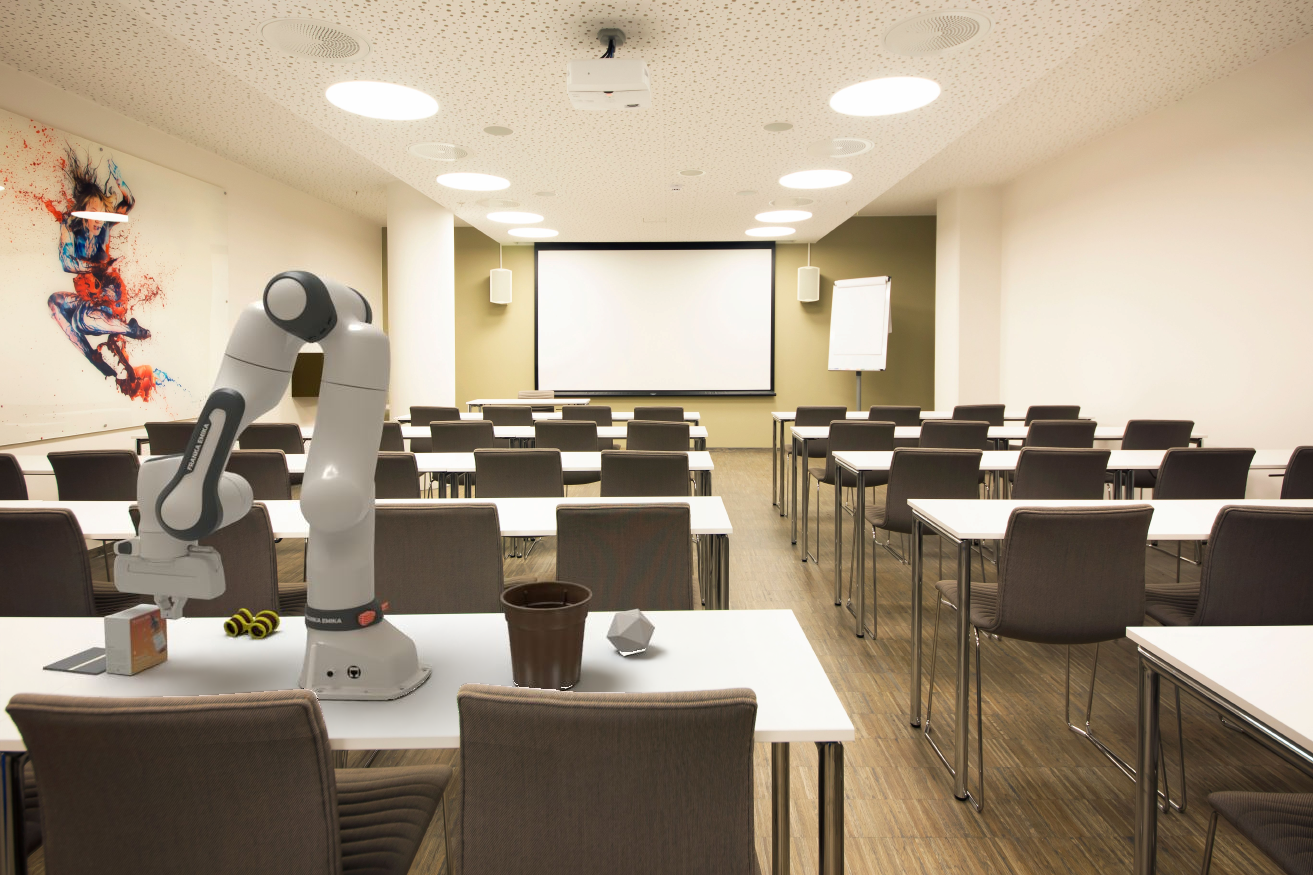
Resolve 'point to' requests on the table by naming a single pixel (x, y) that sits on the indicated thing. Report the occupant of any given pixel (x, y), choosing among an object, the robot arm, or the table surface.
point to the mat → (82, 662)
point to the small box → (135, 639)
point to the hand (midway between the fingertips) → (171, 618)
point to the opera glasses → (252, 623)
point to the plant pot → (546, 632)
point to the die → (630, 631)
